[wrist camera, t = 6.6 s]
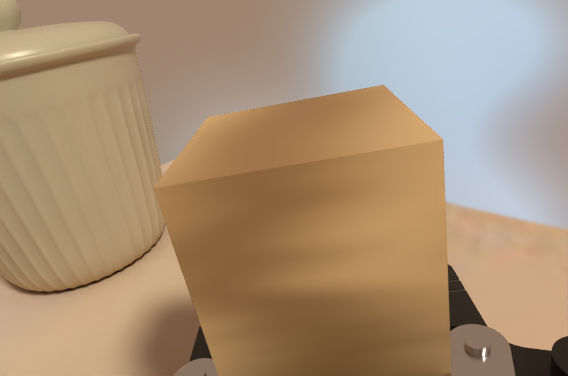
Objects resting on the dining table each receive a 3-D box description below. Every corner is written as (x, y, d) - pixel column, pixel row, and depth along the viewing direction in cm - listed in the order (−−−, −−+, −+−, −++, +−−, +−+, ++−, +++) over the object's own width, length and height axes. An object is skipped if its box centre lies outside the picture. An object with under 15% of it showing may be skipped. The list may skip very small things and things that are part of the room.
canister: (239, 229, 35) (163, -54, 26) (3, 372, 24) (-248, -22, 16) (145, 191, 48) (73, -7, 39) (-37, 274, 37) (-187, 27, 29)
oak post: (416, 451, 16) (383, 84, 10) (459, 609, 12) (443, 139, 6) (300, 462, 16) (207, 117, 11) (302, 618, 12) (153, 188, 7)
